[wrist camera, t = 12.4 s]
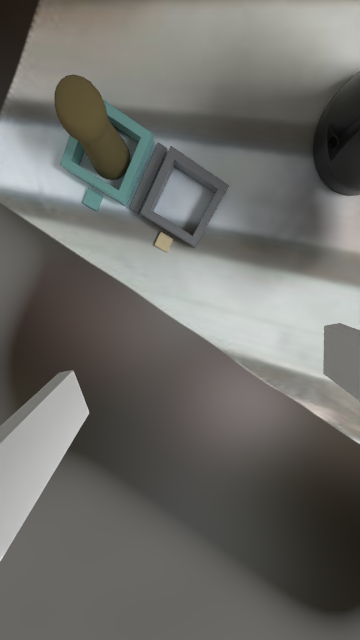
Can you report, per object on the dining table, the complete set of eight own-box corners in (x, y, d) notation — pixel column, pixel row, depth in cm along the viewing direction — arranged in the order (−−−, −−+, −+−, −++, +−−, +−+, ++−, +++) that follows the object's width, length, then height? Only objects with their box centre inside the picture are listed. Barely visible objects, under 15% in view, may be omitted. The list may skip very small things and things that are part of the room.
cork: (136, 172, 31) (113, 123, 20) (100, 185, 31) (60, 144, 20) (121, 127, 29) (89, 48, 18) (84, 141, 29) (31, 72, 19)
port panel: (92, 100, 28) (86, 88, 26) (225, 190, 31) (229, 185, 29) (60, 190, 31) (53, 185, 29) (185, 263, 34) (186, 263, 32)
